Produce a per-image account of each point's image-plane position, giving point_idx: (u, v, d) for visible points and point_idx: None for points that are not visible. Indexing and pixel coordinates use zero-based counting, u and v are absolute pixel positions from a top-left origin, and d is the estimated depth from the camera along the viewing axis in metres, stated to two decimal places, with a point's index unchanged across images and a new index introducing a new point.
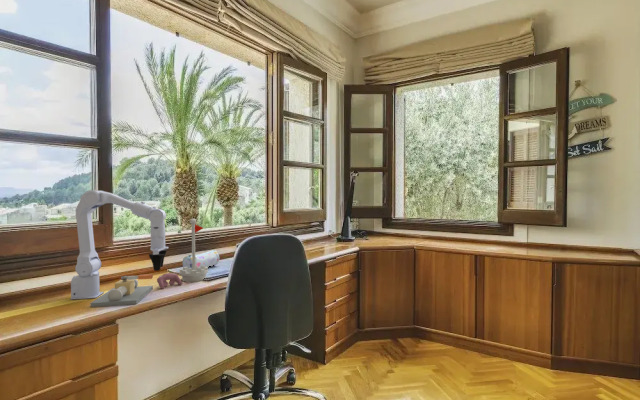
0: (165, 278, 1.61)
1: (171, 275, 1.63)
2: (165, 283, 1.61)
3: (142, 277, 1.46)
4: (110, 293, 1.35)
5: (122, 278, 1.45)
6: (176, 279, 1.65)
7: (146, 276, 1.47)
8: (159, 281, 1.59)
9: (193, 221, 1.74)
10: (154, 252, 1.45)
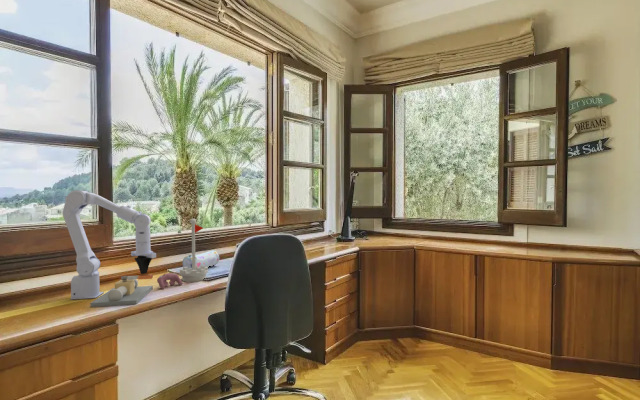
0: (165, 278, 1.61)
1: (171, 275, 1.63)
2: (165, 283, 1.61)
3: (142, 277, 1.46)
4: (110, 293, 1.35)
5: (122, 278, 1.45)
6: (176, 279, 1.65)
7: (146, 276, 1.47)
8: (159, 281, 1.59)
9: (193, 221, 1.74)
10: (153, 256, 1.50)
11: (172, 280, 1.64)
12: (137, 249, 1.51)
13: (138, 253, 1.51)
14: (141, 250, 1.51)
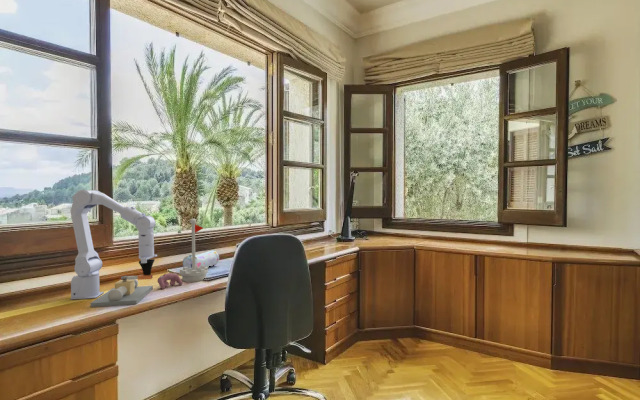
0: (166, 278, 1.61)
1: (172, 275, 1.63)
2: (166, 283, 1.61)
3: (142, 277, 1.46)
4: (110, 293, 1.35)
5: (122, 278, 1.45)
6: (177, 279, 1.64)
7: (146, 276, 1.46)
8: (160, 281, 1.58)
9: (193, 221, 1.74)
10: (142, 261, 1.42)
11: (172, 280, 1.64)
12: (139, 252, 1.48)
13: None
14: (140, 253, 1.46)
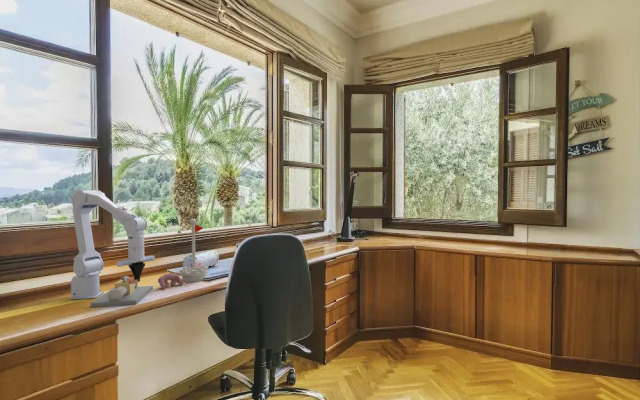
0: (166, 278, 1.61)
1: (172, 275, 1.63)
2: (166, 283, 1.61)
3: (128, 281, 1.41)
4: (110, 293, 1.35)
5: (121, 278, 1.46)
6: (177, 279, 1.64)
7: (129, 280, 1.40)
8: (160, 281, 1.58)
9: (193, 221, 1.74)
10: (117, 264, 1.36)
11: (173, 280, 1.64)
12: None
13: None
14: None
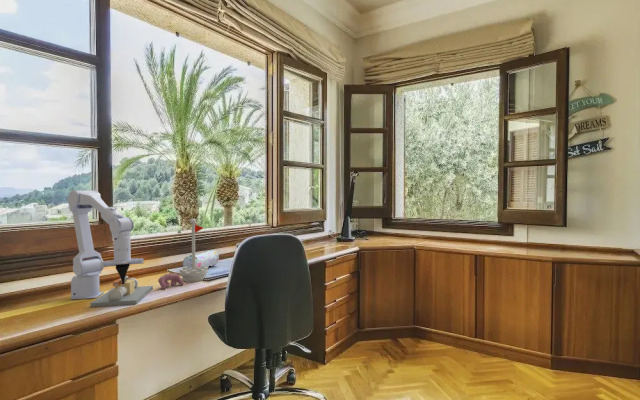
0: (166, 278, 1.60)
1: (172, 275, 1.63)
2: (166, 283, 1.61)
3: None
4: (110, 293, 1.35)
5: None
6: (177, 279, 1.64)
7: None
8: (160, 281, 1.58)
9: (193, 221, 1.74)
10: (100, 264, 1.36)
11: (173, 280, 1.63)
12: None
13: None
14: None
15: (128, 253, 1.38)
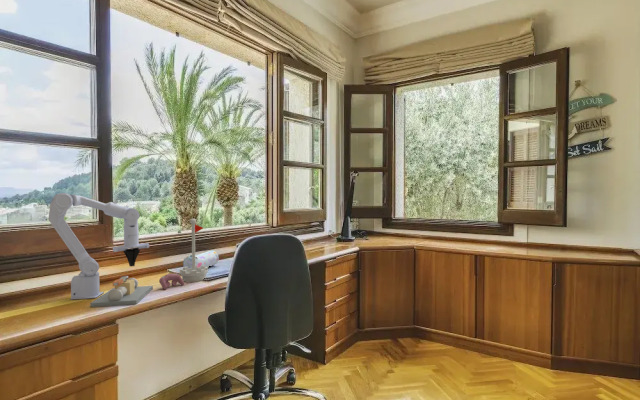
0: (167, 279, 1.60)
1: (173, 275, 1.62)
2: (167, 284, 1.60)
3: None
4: (110, 293, 1.35)
5: None
6: (178, 279, 1.64)
7: None
8: (161, 282, 1.58)
9: (193, 221, 1.74)
10: (113, 249, 1.52)
11: (174, 280, 1.63)
12: None
13: None
14: None
15: (138, 238, 1.58)
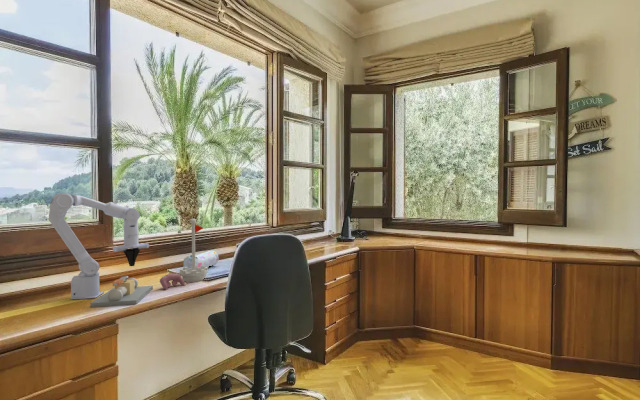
0: (168, 279, 1.60)
1: (174, 276, 1.62)
2: (168, 284, 1.60)
3: None
4: (110, 293, 1.35)
5: None
6: (179, 280, 1.64)
7: None
8: (162, 282, 1.57)
9: (193, 221, 1.74)
10: (113, 249, 1.52)
11: (175, 281, 1.63)
12: None
13: None
14: None
15: (138, 238, 1.58)
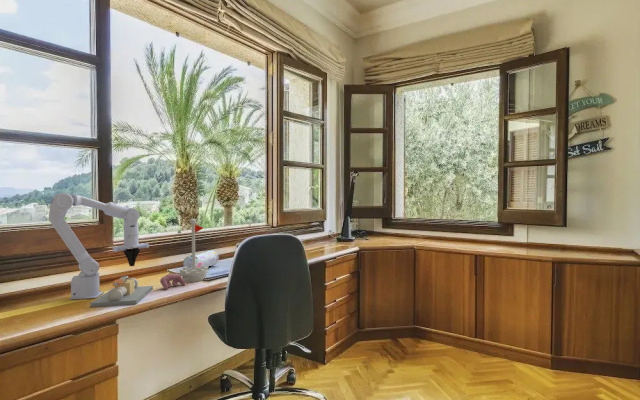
0: (168, 279, 1.60)
1: (174, 276, 1.62)
2: (168, 284, 1.60)
3: None
4: (110, 293, 1.35)
5: None
6: (179, 280, 1.63)
7: None
8: (162, 282, 1.57)
9: (193, 221, 1.74)
10: (113, 249, 1.52)
11: (175, 281, 1.63)
12: None
13: None
14: None
15: (138, 238, 1.58)
